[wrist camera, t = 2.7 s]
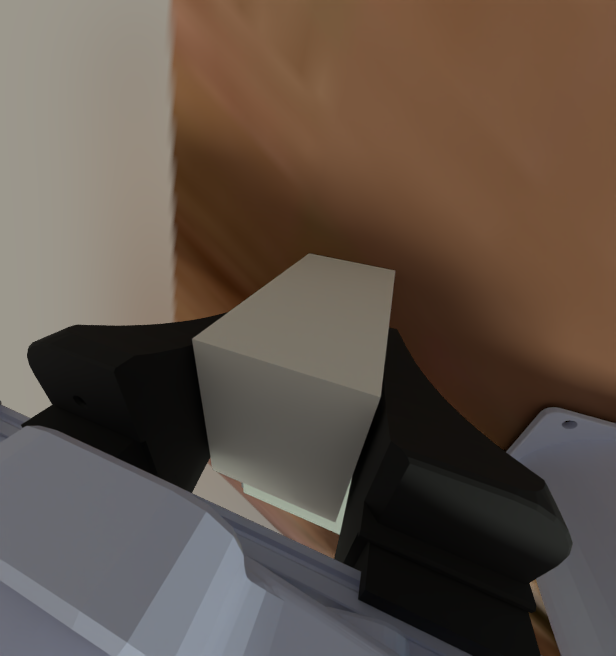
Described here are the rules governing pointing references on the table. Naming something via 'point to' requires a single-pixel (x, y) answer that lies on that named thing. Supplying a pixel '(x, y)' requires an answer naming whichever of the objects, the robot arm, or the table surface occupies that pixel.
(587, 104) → the table surface
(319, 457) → the carton
